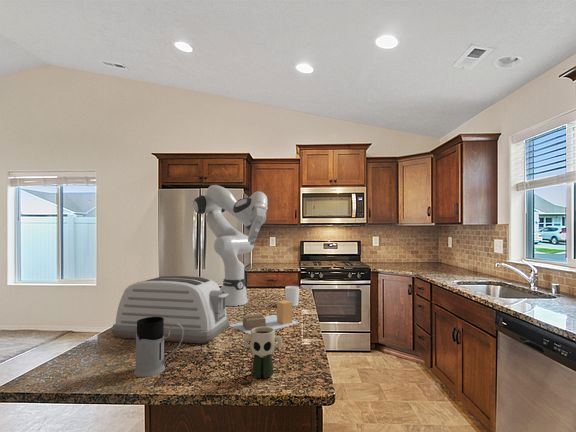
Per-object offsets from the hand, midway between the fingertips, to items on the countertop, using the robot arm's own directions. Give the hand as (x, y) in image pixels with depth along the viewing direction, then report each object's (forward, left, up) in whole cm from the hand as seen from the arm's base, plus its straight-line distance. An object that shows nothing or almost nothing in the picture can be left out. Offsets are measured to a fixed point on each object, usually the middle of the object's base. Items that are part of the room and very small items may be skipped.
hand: (254, 238), depth 151 cm
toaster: (-9, -34, -39) cm, 52 cm away
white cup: (-11, +35, -39) cm, 53 cm away
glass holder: (+23, -52, -39) cm, 69 cm away
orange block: (+14, +7, -37) cm, 40 cm away
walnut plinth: (+10, -7, -37) cm, 39 cm away
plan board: (+10, -1, -38) cm, 40 cm away
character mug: (+47, -31, -39) cm, 68 cm away
